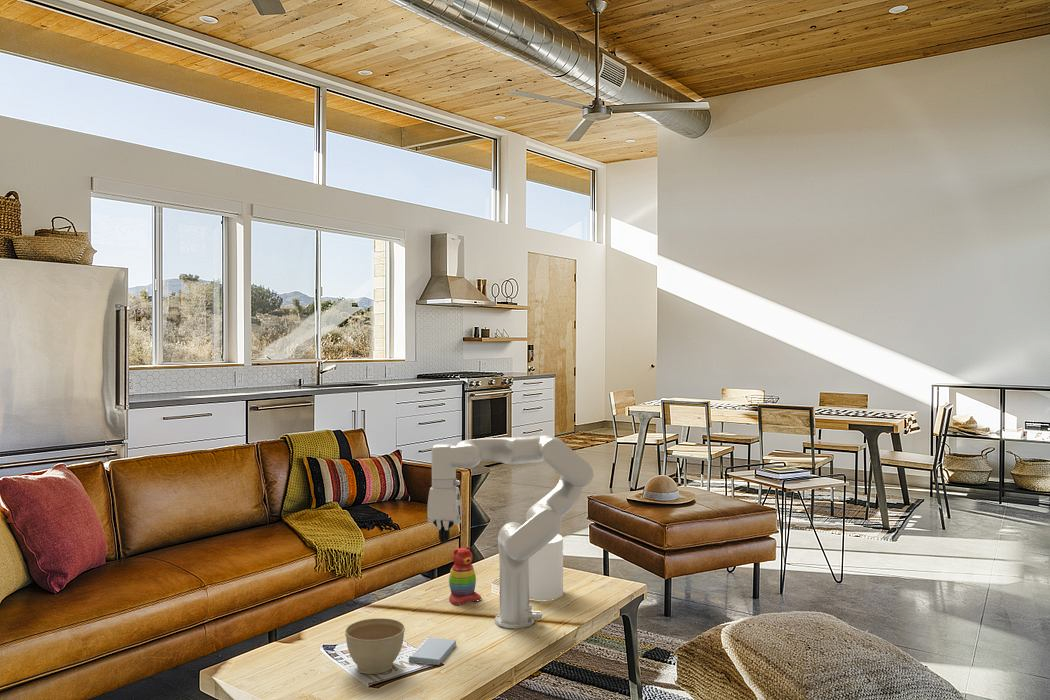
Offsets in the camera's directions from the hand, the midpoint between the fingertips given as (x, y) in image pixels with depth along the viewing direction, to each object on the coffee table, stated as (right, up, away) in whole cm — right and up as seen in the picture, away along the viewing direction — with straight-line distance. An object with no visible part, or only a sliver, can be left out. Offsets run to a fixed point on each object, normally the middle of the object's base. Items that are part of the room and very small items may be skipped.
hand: (444, 541), depth 237 cm
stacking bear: (+4, -27, +26) cm, 38 cm away
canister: (+31, -27, +32) cm, 52 cm away
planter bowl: (-16, -28, -28) cm, 43 cm away
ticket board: (-1, -27, -19) cm, 33 cm away
